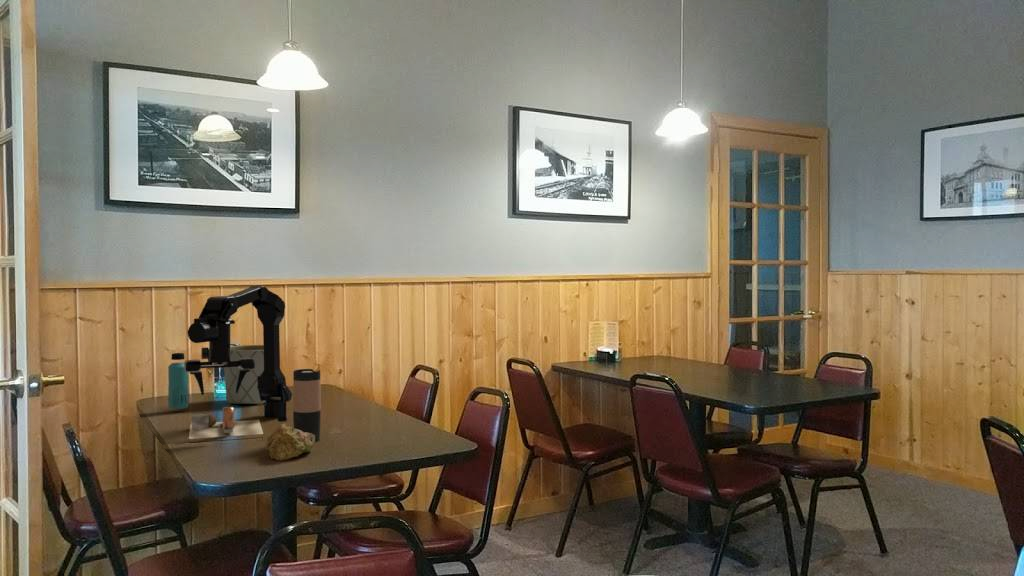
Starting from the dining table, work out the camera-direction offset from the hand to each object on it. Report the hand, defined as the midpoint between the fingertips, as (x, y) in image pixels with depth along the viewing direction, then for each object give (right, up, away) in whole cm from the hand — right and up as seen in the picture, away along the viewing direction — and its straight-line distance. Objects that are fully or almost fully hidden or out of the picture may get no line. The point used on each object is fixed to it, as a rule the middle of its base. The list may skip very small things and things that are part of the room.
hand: (219, 394), depth 226 cm
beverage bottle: (-29, -12, +40) cm, 51 cm away
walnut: (-6, -11, +10) cm, 16 cm away
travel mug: (+26, -13, -2) cm, 29 cm away
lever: (0, -10, +6) cm, 12 cm away
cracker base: (-1, -12, +7) cm, 14 cm away
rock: (+27, -14, -21) cm, 37 cm away
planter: (-11, -11, +60) cm, 62 cm away
